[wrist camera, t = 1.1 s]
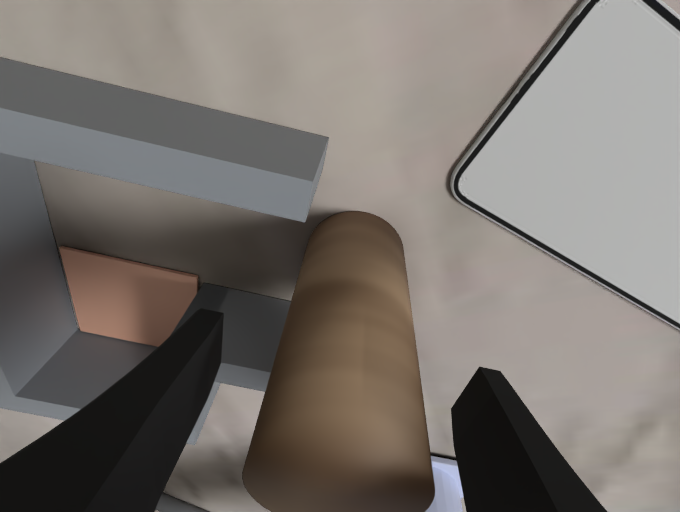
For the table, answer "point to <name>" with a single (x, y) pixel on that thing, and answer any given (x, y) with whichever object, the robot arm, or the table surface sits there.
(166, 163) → the channel
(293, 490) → the peg
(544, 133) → the smartphone
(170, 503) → the newton's cradle
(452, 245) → the table surface
